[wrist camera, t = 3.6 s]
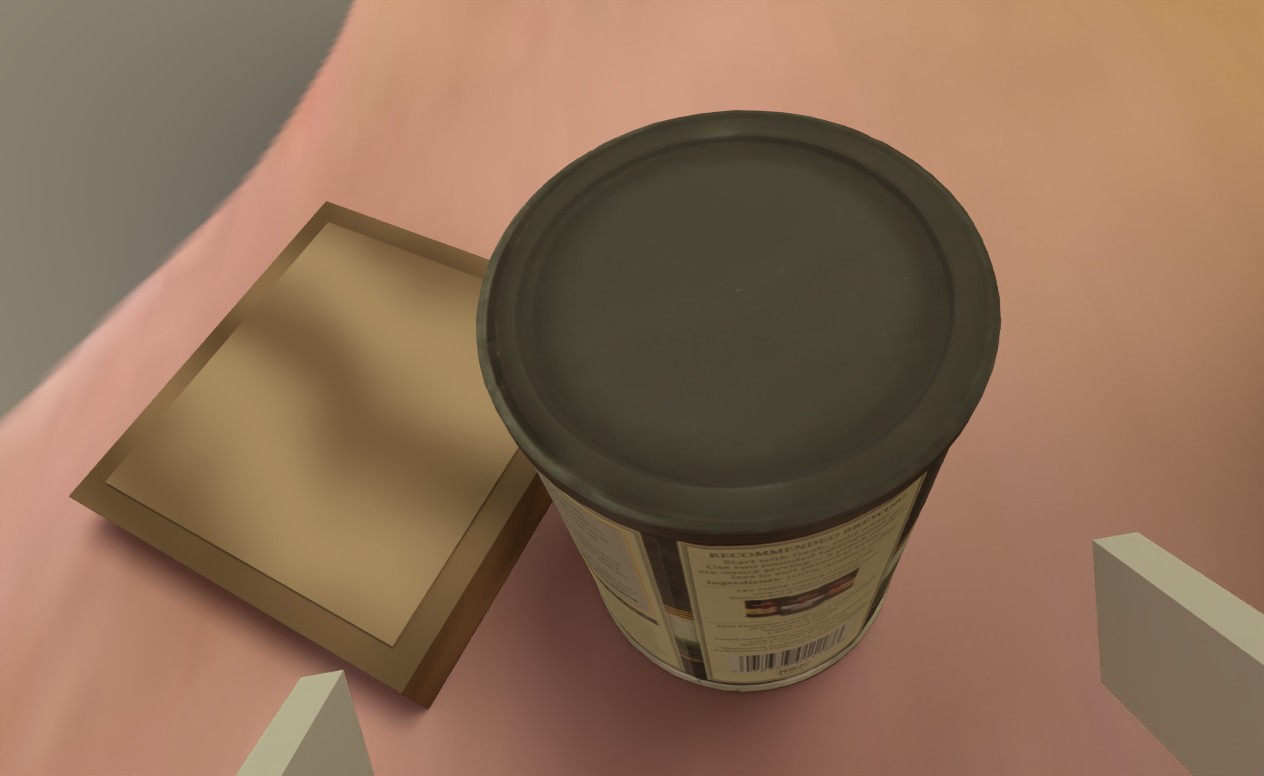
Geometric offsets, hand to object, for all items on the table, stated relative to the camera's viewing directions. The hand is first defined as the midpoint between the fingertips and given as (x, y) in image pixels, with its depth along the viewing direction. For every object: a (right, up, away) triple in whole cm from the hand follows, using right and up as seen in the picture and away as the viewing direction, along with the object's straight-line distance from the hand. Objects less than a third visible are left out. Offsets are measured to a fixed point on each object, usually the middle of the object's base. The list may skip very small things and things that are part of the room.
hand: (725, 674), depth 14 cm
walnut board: (-11, +3, +18) cm, 21 cm away
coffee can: (+2, 0, +14) cm, 14 cm away
